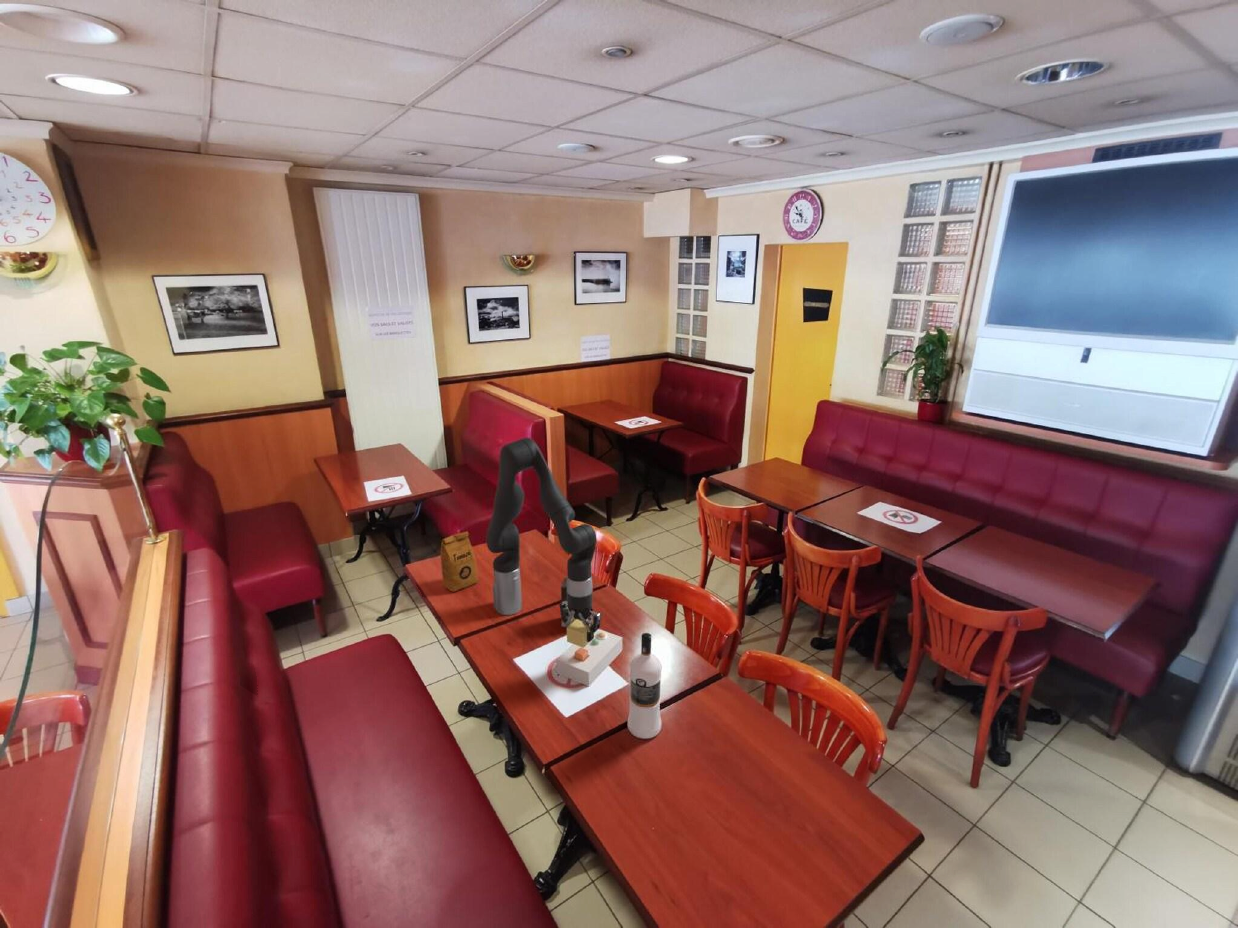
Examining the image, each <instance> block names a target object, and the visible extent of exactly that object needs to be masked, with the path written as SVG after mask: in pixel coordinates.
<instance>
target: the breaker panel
mask: <svg viewBox="0 0 1238 928" xmlns="http://www.w3.org/2000/svg"><path fill="white" fill-rule="evenodd" d="M579 648H580V646H577V645H575V644H572V643H571V645H570V646H569V647H568V648H567V649H566V650H565V651H563V652H562V653H561V654H560V655H559V656H558V657H557V658H555V666H556V674H558V675H560V676H563V677H565V678H568V679H570V680H573V681H575V682H577V683H580V684H581V685H582V684H583V685H585V686H587V687H590V686H591V685H592V684H593V683H594V682H595V681H596V680H597V678H598V677H600V675H602V673H603V672H605V670H606V669H607V668H608V667H609V666H610V664H612V662H613V661H614V660H615V659H616V658H617V657H618V656H619V655H620V653H622V651H623V637H622V636H619V635H617V634H614V633H612V632H608V631H605V630H603V629H601V628H599V629H598V630H597V631H596V632H595V633H594V638H593V640H592V641H590V642H589V643H588V644H587V645H586V646H585V647H584V648H583V647H581V648H583V649H586V650H588V658H587V659H586V660H585V661H584V662H581V661H579V660H576V659H575V652H576V651H577V650H578V649H579Z"/></svg>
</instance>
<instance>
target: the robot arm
mask: <svg viewBox="0 0 1238 928" xmlns="http://www.w3.org/2000/svg"><path fill="white" fill-rule="evenodd" d="M531 468H532V469H533V470H534V472H535V473H536V474H537V477H538V482H539V499H540V504H541V506H542V508H543V510H544V512H545V514H546V515H547V516H548V517H549V520H551V523H552V524H553V526H554V530H555V532H556V535H557V537H558V542H559V544H560V547H561V549H562V550H563V551H564V552H565V553H567V554H568V555H571V556H570V557H569V558H568V560H567V562H566V563H567V565H566V568H567V570H566V571H567V577H566V578H567V601H566V600H564V601H563V602H562V603H561V602H560V604H559V610H560V617H561V622H562V621H565V622H567V625H568V626H569V625H570V624H571V623H572V622H573V621H574V620H575V619H578V620H580V621H582V623H583V625H584V626H585V627H586V629H587V642H590V641H592V640H593V638H594V633H595V632H596V631H597V630H598V629H601V623H602V622H601V621H602V613H601V612H600V611H598V612H596V611H594V609H593V596H594V593H593V592H594V591H593V578H592V561H593V559H594V554H595V550H596V547H597V534H596V531H595V529H594V527H592V525H590V524H589V523H583V524H582V523H581V524H580V525H577V526H575V527H573V528H572V527H571V525H570V523H571V522H572V521H573V520H574V519H575V516H576V512H575V510H574V509H573V507H572V506H571V504H570V503H569V501H568V499H566V497H565V495H564V494H563V493H562V491H561V489H560V488H559V486H558V484H557V482H556V480H555V478H554V476H553V474H552V472H551V469H550V467H549V465H548V463H547V461H546V460H545V457H544V454H543V453H542V451H541V449H540V448H539V445H538V444H537V443H536V442H535V440H534V439H532V438H530V437H523V438H520V439H518V440H515V441H512V442H508V443H506V444H504V445H503V446H502V447H501V449H500V452H499V461H498V479H497V485H496V486H497V487H496V490H495V495H494V502H493V509H492V515H491V519H490V522H489V524H488V527H487V531H486V538H485V540H486V542H485V543H486V547H487V549H488V551H490V552H491V553H492V554H499V555H497V556H496V557H495V558H494V559H493V561H492V569H493V579H494V582H493V583H494V584H493V585H492V597H493V609H494V610H496V612H497V613H498V614H500V615H501V616H502V615H503V616H509V615H511V616H512V615H515V614H518V613H519V612H520V611H521V610H522V608H523V604H522V603H523V602H522V585H521V572H520V571H521V567H520V560H521V558H520V556H521V554H520V553H521V552H520V551H521V550H520V547H521V546H520V543H521V541H520V531H519V529H518V527H517V526H516V524H515V523H512V522H514V520H515V519H517V517H518V516H519V515H520V514H521V511H522V509H523V506H524V500H525V491H524V490H523V487H522V486H521V485H520V484H519V482H517V480H516V478H517V475H518V474H520V473H521V472H524V471H526V470H528V469H531ZM567 602H568V603H567ZM568 609H569V610H568ZM569 611H570V612H571V614H570V616H569ZM587 619H588V620H587ZM586 620H587V621H586ZM589 624H590V626H589Z"/></svg>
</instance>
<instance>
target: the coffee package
mask: <svg viewBox="0 0 1238 928" xmlns="http://www.w3.org/2000/svg"><path fill="white" fill-rule="evenodd" d="M440 545H441V546H440V565H441V573H442V574H441V575H442V581H443V582H442V583H443V586H444V587H445V588H446V589H448V590H449V591H450V592H452V593H453V592H454V593H455V592H456V591H458V590H461V589H464V588H467V587H471V586H473V585H476V584H477V583H478V581H479V575H478V565H477V559H476V556H475V552H474V549H473V546H472V544H471V541H470V538H469V532H468V531H464V532H460V533H457V534H453V535H449V536H448V537H445V538H443V539H442V540H441V544H440Z"/></svg>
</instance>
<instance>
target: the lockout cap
mask: <svg viewBox="0 0 1238 928" xmlns="http://www.w3.org/2000/svg"><path fill="white" fill-rule="evenodd" d="M589 626H590V624H589ZM566 642H567V643H570V644H571V645H572V644H575V645H577V646H580V647H583V648H584V647H585V646H586V645H587V644H588V643H589V642H587V629H586V627H585V626H584V625H583V623H582V621H580V620H578V619H576V620H575V621H574V622H572V623H571V624H570V625H569V626H568V627H566Z"/></svg>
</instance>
